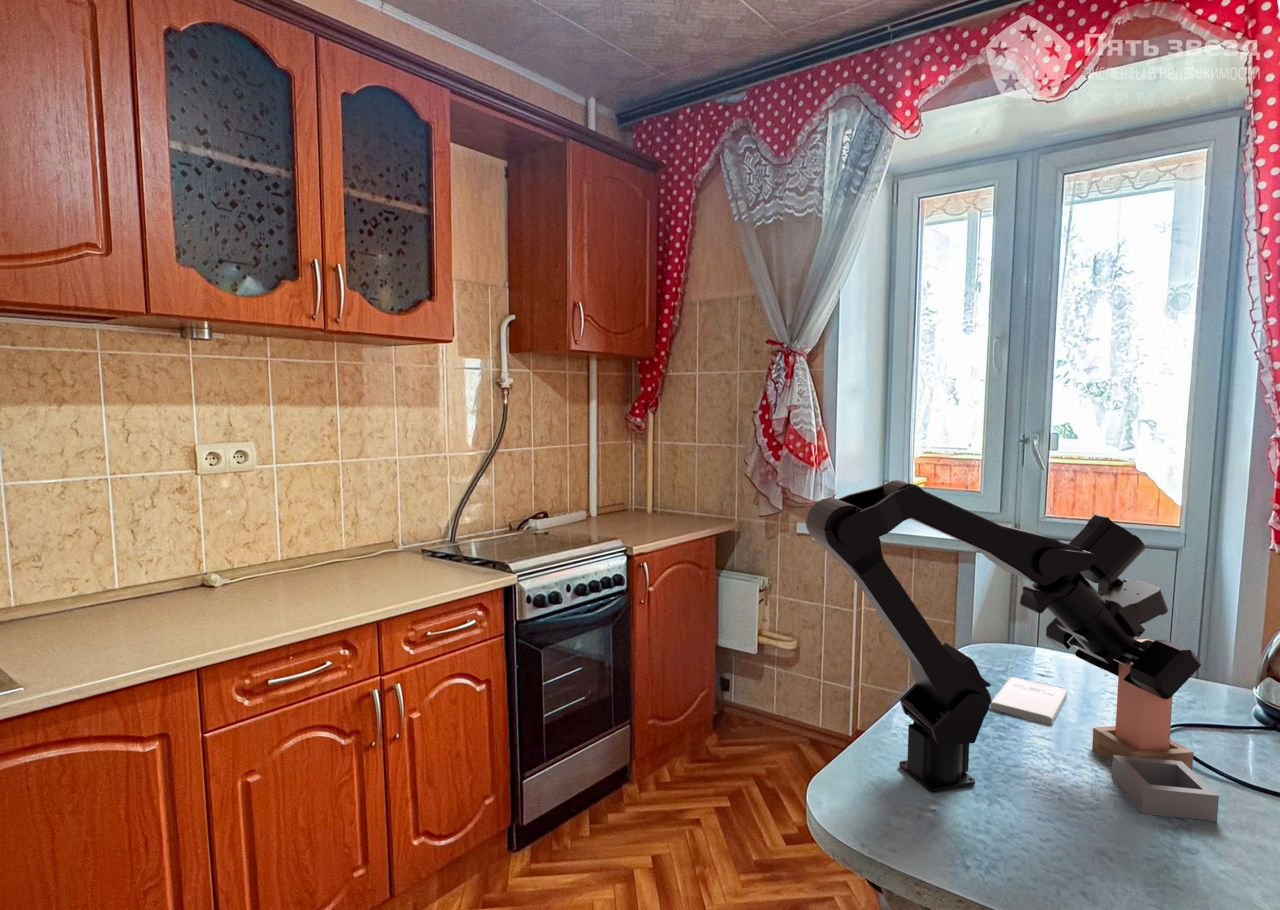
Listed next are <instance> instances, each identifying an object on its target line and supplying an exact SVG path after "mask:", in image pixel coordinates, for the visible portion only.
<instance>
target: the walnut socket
mask: <svg viewBox="0 0 1280 910" xmlns="http://www.w3.org/2000/svg"><path fill="white" fill-rule="evenodd" d="M1115 729H1116V725H1112V726H1097V727H1092V742H1091V743H1092V746H1091V749H1092V750H1093V751H1095V752H1096V753H1097V754H1099V755H1101V756H1102V757H1103V758H1105V759H1106V760H1108V761H1110V763H1112V764H1113V755H1118V756H1129V757H1140V758H1151V759H1163V760H1174V761H1182V762H1183V763H1184V764H1185V765H1186V766H1187V767H1188V768H1189V769H1191V770H1192V771H1193V767H1194V766H1193V763H1194V751H1193V750H1190V749H1188V748H1187V747H1185V746H1183V745H1181V744H1180V743H1178V742H1176V741H1174V740H1172V739H1171V738H1170V745H1169V749H1166V750H1152V751H1138V750H1137V749H1135V748H1134V747H1132V746H1130V745H1129V744H1127V743H1125V742H1124V741H1122V740H1120V739H1119V738H1117V737H1116V736H1115Z"/></svg>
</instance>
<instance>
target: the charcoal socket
mask: <svg viewBox="0 0 1280 910" xmlns="http://www.w3.org/2000/svg"><path fill="white" fill-rule="evenodd" d="M1111 771H1112V772H1111V779H1112V780H1113V782H1115V784H1116V785H1117V786H1118V788H1119V789H1121V791H1122V792H1123V793H1124V794H1125V795H1126V796H1127V797H1128V799H1129V800H1130V802H1131V803H1132V804H1133V805H1134V806H1135V807H1136V808H1137V810H1138V811H1139V812H1140V813H1141V814H1143V815H1151V816H1154V815H1155V816H1162V817H1171V818H1179V819H1180V818H1182V819H1190V820H1191V819H1192V820H1201V821H1208V822H1209V821H1210V822H1218V814H1219V802H1220V801H1219V798H1220V795H1219V794H1218V793H1217V792H1215V790H1213V789H1212V788H1211V787H1210V786H1209V785H1208V783H1206V782H1205V781H1203V779H1202V778H1200V777H1199V776H1198V775H1197V774H1196V773H1195V772H1194V771H1193V769H1192V770H1191V769H1189V768H1188V767H1187V766H1186V765H1185V764H1184V763H1183V762H1182V761H1174V760H1163V759H1151V758H1140V757H1129V756H1118V755H1113V763H1112V769H1111Z"/></svg>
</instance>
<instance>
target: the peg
mask: <svg viewBox="0 0 1280 910" xmlns="http://www.w3.org/2000/svg"><path fill="white" fill-rule="evenodd" d="M1136 640H1137V641H1140V642H1143V641H1145V640H1151V641H1153V642H1154V641H1155V640H1152V639H1149V638H1146V639H1145V638H1144V639H1141V638H1140V639H1136ZM1139 650H1141V649H1139ZM1131 665H1132V664H1131V663H1130V664H1129V665H1127V666H1126V665H1123V664H1121V663H1119V674H1118V676H1117V677H1118V679H1117V693H1116V694H1117V695H1116V711H1115V713H1116V714H1115V715H1116V716H1115V726H1116V729H1115V736H1116V737H1117V738H1119V739H1120V740H1122V741H1124V742H1125V743H1127V744H1129V745H1130V746H1132V747H1134V748H1135V749H1137V750H1138V751H1152V750H1166V749H1169V745H1170V739H1171V727H1172V711H1173V708H1172V707H1173V696H1172V697H1171V698H1169V699H1168V700H1166V699H1162V698H1160V697H1158V696H1156V695H1154V694H1152V693H1150V692H1148V691H1145V690H1143V689H1140V688H1138V687H1136V686H1134V685H1132V684H1130V683H1128V682H1126V681H1124V680H1123V679H1124V678H1125V677H1126V676H1127V675H1128V674H1129V673H1130V666H1131Z"/></svg>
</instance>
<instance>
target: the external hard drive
mask: <svg viewBox="0 0 1280 910" xmlns="http://www.w3.org/2000/svg"><path fill="white" fill-rule="evenodd" d="M1066 697H1068V690H1067V689H1064V688H1062V687H1061V688H1060V687H1056V686H1053V685H1048V684H1043V683H1039V682H1036V681H1035V682H1034V681H1031V680H1026V679H1022V678H1018V677H1017V678H1016V677H1013V676H1012V677H1009V678H1008V680H1007V681H1006V682H1005V684H1004V685H1003V686H1002V687H1001V689H1000V690H999V692H998V693H996V695H995V696H994V698H993V699H991V700H992V703H991V704H990V706H989V710H993V711H997V712H1000V713H1001V712H1002V713H1004V714H1005V713H1006V714H1008V715H1009V714H1010V715H1012V714H1013V716H1016V717H1020V718H1025V719H1028V720H1030V721H1036V722H1039V723H1043V724H1047V725H1051V726H1052V725H1054V723H1055V720H1056V718H1057V716H1058V715H1059V712H1060V710H1061V709H1062V706H1064V704H1065V701H1066V699H1067V698H1066Z"/></svg>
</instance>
